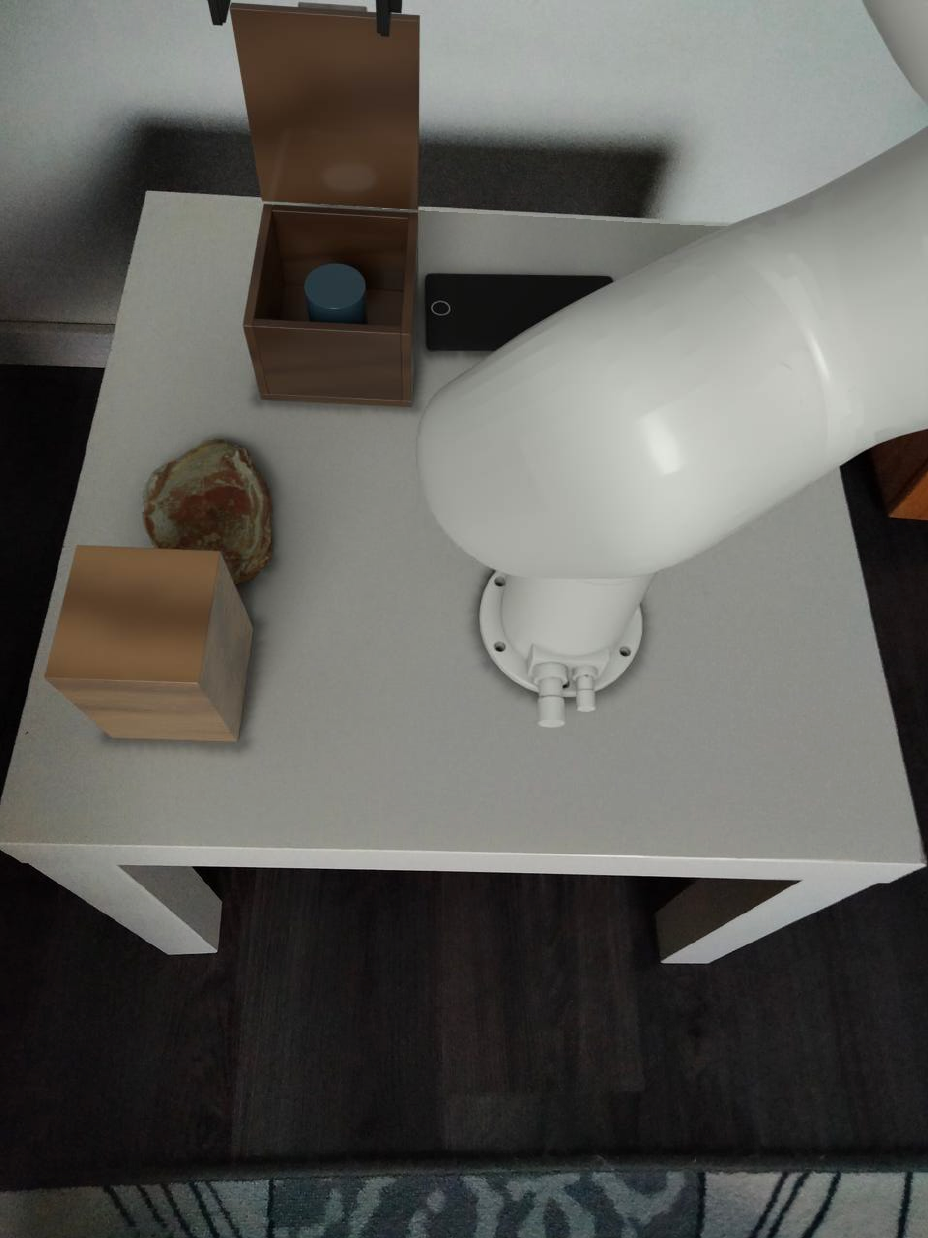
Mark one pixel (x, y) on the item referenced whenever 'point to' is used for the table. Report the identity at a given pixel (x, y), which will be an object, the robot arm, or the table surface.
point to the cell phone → (495, 306)
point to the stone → (212, 507)
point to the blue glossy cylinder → (336, 295)
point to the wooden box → (334, 352)
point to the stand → (153, 643)
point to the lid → (331, 103)
